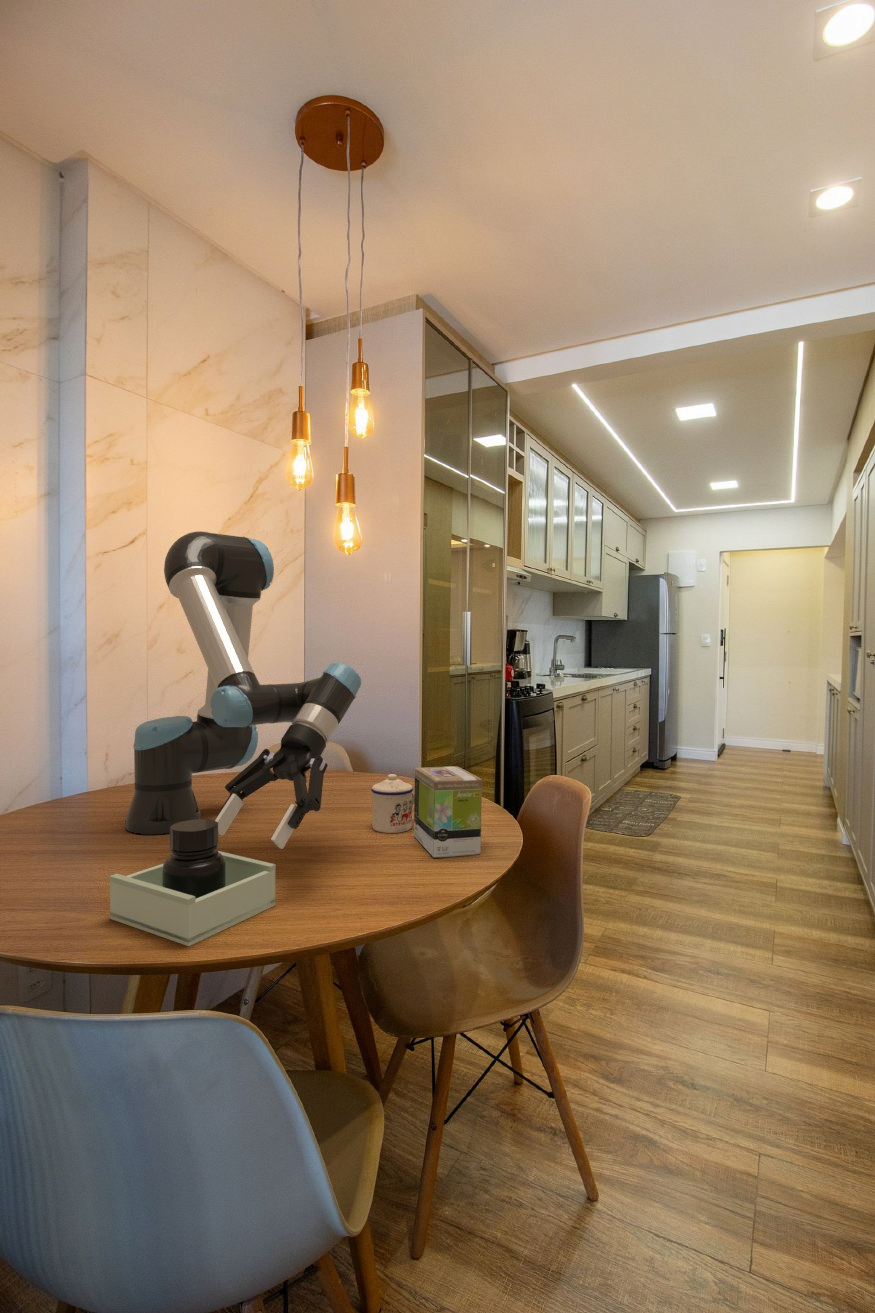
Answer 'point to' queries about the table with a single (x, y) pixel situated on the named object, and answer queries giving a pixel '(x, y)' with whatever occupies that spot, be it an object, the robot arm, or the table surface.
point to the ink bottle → (194, 859)
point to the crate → (192, 901)
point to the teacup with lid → (392, 805)
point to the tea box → (448, 811)
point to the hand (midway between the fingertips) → (245, 837)
